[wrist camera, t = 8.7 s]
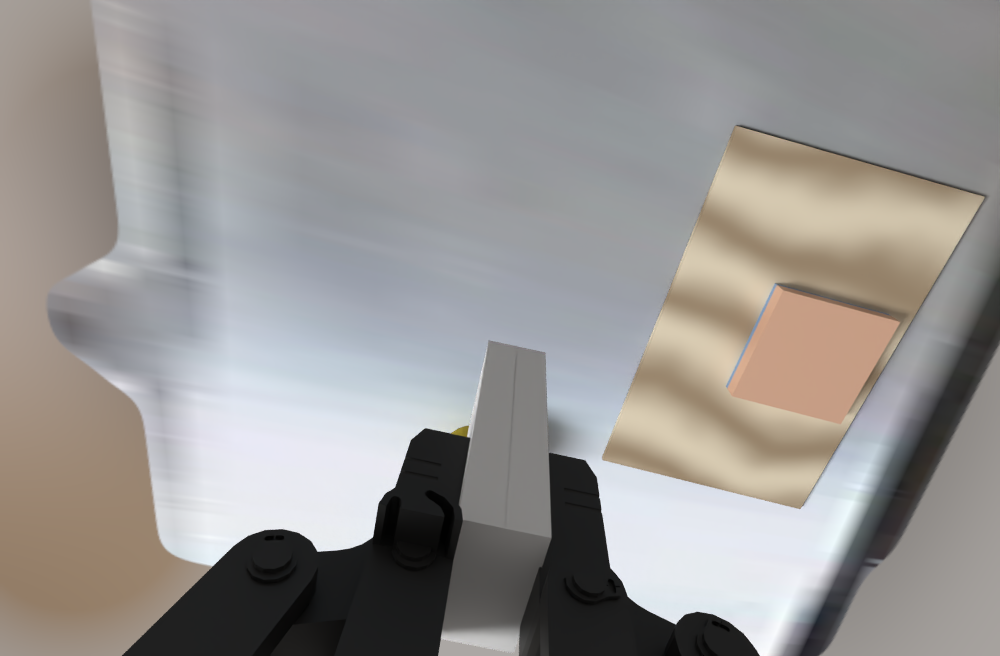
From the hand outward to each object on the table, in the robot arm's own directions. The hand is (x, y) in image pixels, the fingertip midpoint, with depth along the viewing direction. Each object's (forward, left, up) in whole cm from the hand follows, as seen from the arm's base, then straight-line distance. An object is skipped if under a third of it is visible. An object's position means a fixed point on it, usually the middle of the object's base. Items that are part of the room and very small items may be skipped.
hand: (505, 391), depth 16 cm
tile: (+6, +20, -28) cm, 35 cm away
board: (+6, +22, -29) cm, 37 cm away
